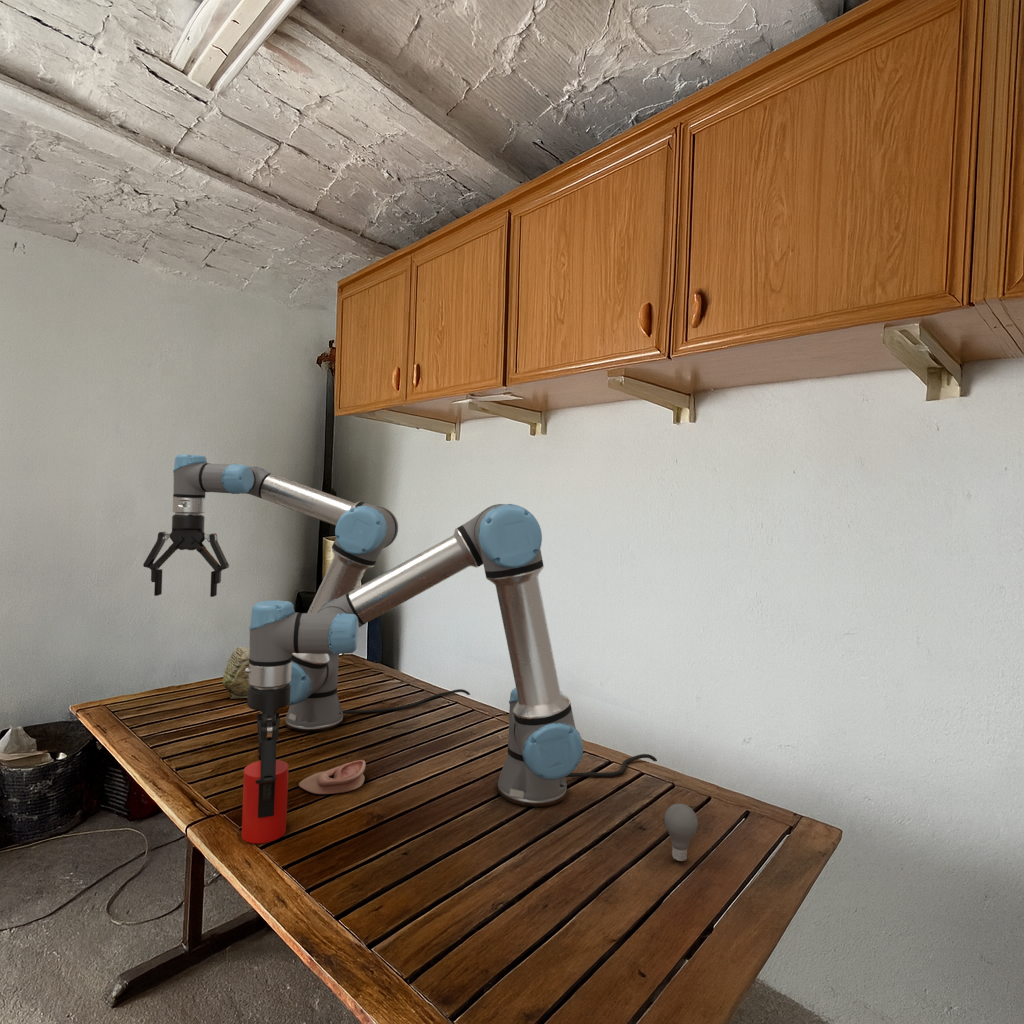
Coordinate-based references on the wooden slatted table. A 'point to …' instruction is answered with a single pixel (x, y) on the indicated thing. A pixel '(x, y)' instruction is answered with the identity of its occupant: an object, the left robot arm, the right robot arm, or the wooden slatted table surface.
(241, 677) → the fossil
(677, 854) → the light bulb
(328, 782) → the anatomical model
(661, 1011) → the wooden slatted table surface
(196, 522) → the left robot arm
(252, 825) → the tin
